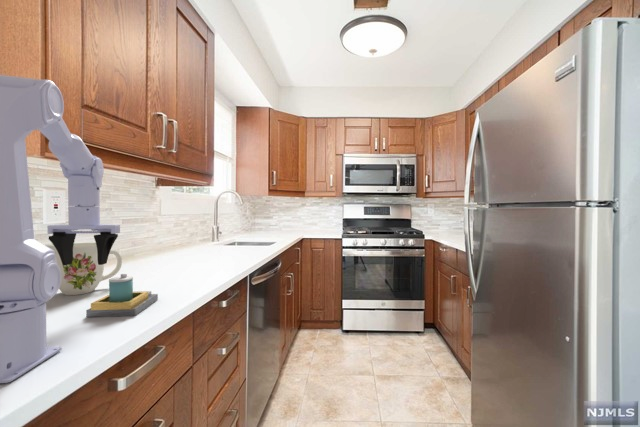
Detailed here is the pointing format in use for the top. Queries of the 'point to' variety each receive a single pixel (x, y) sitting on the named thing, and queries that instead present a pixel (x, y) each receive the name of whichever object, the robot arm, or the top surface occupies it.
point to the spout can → (121, 288)
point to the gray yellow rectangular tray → (122, 305)
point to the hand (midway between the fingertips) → (85, 264)
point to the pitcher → (83, 269)
